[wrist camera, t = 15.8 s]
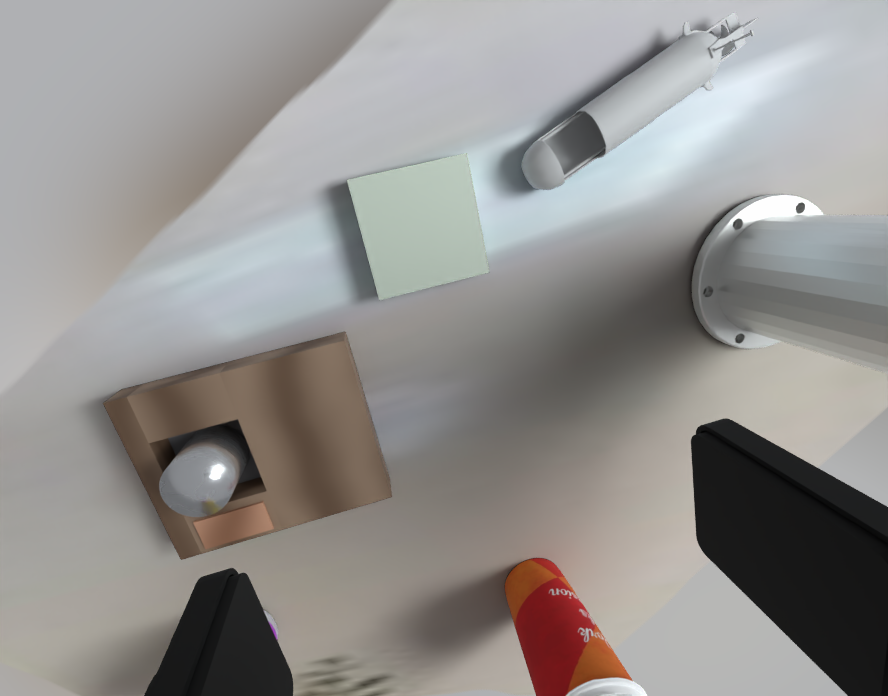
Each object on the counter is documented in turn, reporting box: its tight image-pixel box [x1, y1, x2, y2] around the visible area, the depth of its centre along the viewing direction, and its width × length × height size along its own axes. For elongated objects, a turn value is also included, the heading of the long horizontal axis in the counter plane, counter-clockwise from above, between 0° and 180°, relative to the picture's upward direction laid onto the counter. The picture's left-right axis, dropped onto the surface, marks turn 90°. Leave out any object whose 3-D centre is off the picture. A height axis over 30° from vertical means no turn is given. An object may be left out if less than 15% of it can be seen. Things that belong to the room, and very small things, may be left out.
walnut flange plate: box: [103, 332, 392, 560], centre depth 34 cm, size 16×13×3 cm
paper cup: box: [505, 558, 647, 696], centre depth 37 cm, size 8×8×14 cm
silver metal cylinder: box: [159, 424, 250, 517], centre depth 32 cm, size 4×4×5 cm
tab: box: [347, 153, 490, 300], centre depth 32 cm, size 8×8×2 cm
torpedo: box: [521, 12, 758, 190], centre depth 30 cm, size 18×5×7 cm, turn 124°
